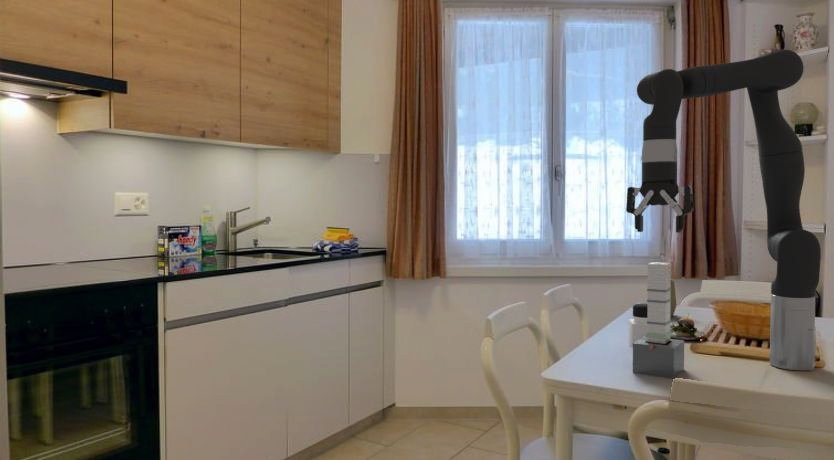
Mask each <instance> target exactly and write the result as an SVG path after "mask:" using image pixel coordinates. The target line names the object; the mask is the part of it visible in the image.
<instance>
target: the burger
mask: <svg viewBox="0 0 834 460" xmlns="http://www.w3.org/2000/svg"><path fill="white" fill-rule="evenodd" d="M671 324H672V325H670V331H671V337H670V338H671V339H676V340H687V341H690V340H691V341H693V340H698V341H699V340H700V339H704V340H705V338H706V333H705V332H704V331H700V330H698V328H697V327H695V322H694V320H693V319H691V318H689V314H688V316H687V317H682V318H680V319H678V322H677V325H675V324H674V323H671ZM699 336H701V337H699ZM706 339H707V338H706Z"/></svg>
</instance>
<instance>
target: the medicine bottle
mask: <svg viewBox="0 0 834 460" xmlns="http://www.w3.org/2000/svg"><path fill="white" fill-rule="evenodd" d="M647 312H648V302H647V303H646V302H637V303H635V304H633V305H632V318H630V319H628V320H629V322H628V326H629V328H628V331H629V332H628V335H629V337H628V341H629V342H628V344H629V346H630V347H631V348H633V343H634V342H636V341H637V340H639V339H641V338H642V337H644V336H647Z"/></svg>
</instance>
